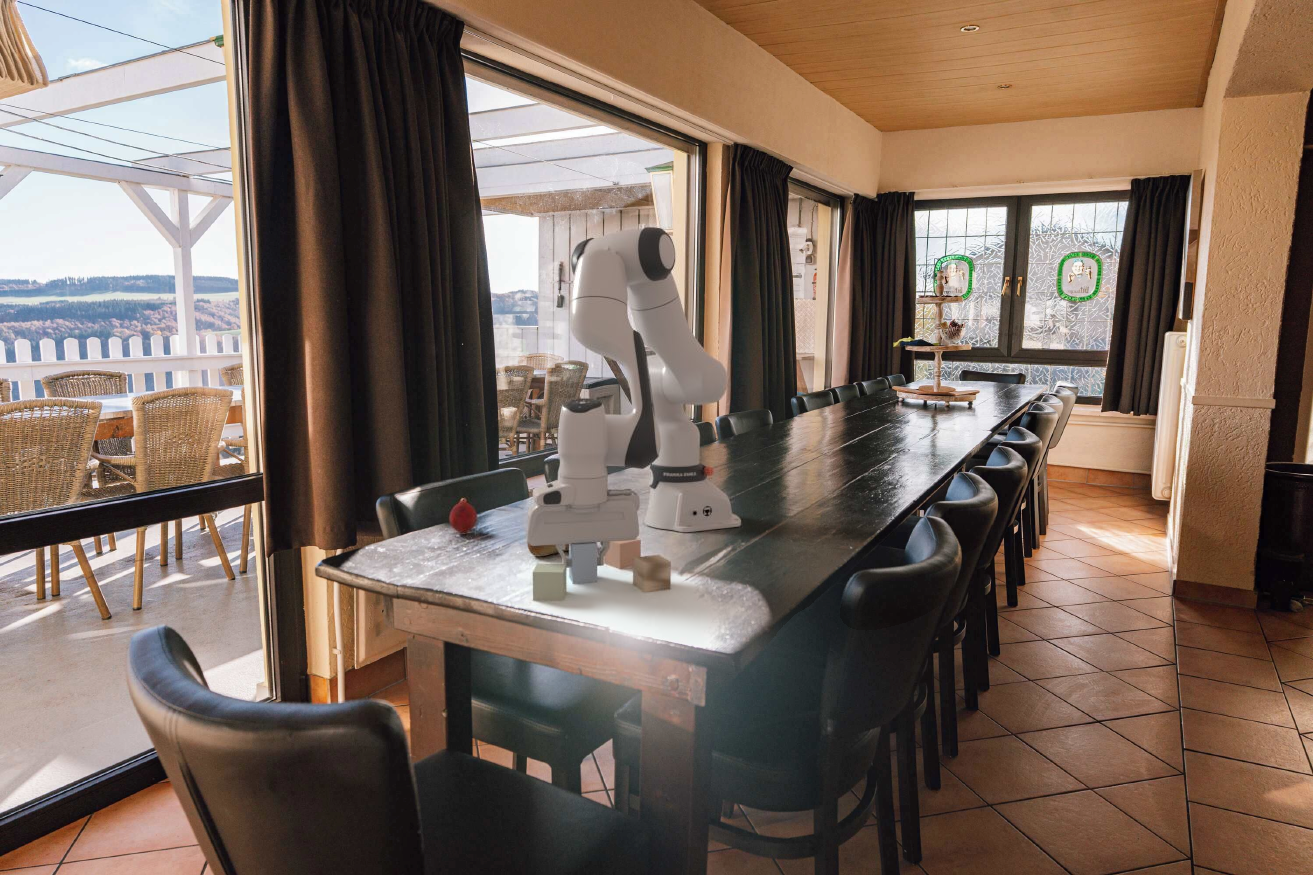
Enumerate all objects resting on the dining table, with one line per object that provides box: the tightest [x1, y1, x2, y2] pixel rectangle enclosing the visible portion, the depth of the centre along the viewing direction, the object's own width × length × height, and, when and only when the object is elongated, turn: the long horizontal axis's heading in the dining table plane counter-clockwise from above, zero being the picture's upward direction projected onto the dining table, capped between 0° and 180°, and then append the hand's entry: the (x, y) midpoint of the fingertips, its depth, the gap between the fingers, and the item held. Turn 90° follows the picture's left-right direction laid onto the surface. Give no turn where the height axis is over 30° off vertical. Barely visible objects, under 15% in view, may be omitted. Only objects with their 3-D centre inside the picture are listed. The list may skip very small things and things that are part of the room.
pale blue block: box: [568, 542, 598, 585], centre depth 149 cm, size 4×4×7 cm
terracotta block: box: [604, 537, 642, 570], centre depth 159 cm, size 5×5×5 cm
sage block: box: [532, 563, 567, 602], centre depth 140 cm, size 5×5×5 cm
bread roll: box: [526, 540, 569, 557], centre depth 168 cm, size 10×15×8 cm, turn 143°
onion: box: [448, 497, 478, 534], centre depth 181 cm, size 6×6×8 cm
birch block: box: [632, 554, 672, 594], centre depth 145 cm, size 5×5×5 cm
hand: (583, 566), depth 149 cm, fingers closed on pale blue block, 4 cm apart
